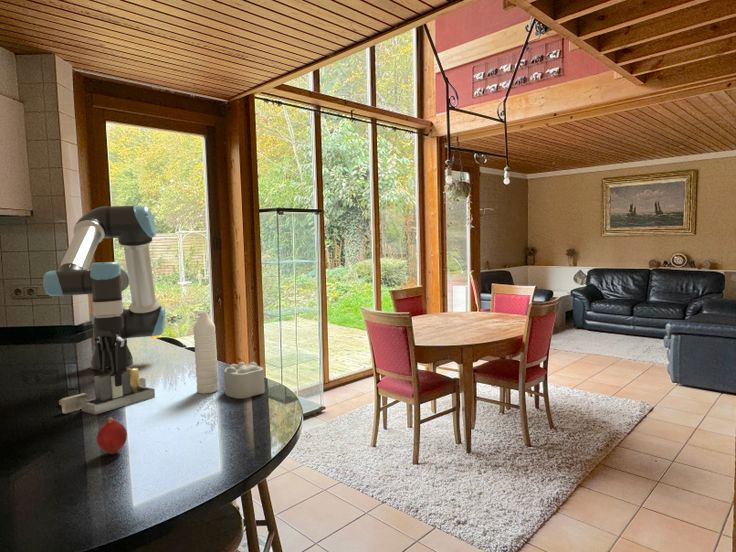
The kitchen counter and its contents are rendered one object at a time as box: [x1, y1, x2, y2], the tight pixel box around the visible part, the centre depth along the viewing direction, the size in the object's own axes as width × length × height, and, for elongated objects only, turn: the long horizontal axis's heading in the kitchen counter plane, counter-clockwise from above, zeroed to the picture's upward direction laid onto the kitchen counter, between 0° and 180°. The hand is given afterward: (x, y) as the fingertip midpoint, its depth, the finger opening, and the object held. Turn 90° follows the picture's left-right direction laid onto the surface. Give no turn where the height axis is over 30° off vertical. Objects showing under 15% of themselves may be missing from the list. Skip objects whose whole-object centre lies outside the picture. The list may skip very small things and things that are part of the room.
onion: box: [96, 417, 128, 455], centre depth 105 cm, size 6×6×8 cm
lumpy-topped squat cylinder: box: [223, 361, 266, 400], centre depth 149 cm, size 10×13×9 cm
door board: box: [58, 377, 156, 416], centre depth 144 cm, size 24×19×4 cm
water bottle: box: [193, 309, 220, 395], centre depth 151 cm, size 9×6×25 cm
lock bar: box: [93, 367, 140, 402], centre depth 141 cm, size 12×4×7 cm, turn 147°
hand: (114, 396), depth 140 cm, fingers closed on lock bar, 3 cm apart
